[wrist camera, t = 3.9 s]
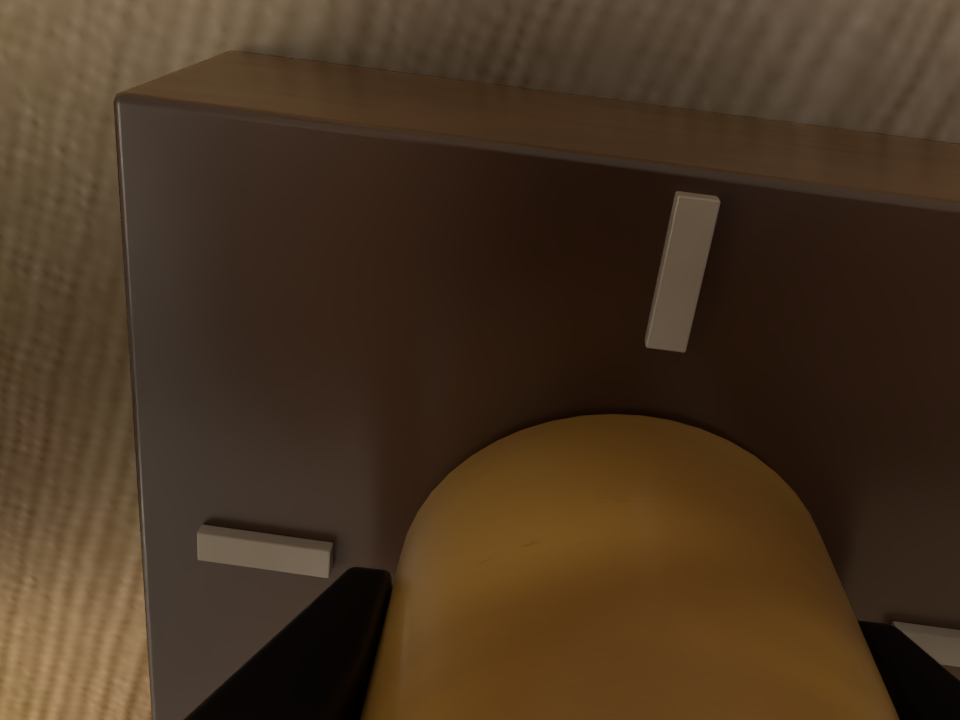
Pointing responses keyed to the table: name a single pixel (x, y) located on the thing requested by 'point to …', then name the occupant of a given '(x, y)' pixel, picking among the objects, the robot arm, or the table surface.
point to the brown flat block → (512, 325)
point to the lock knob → (619, 588)
